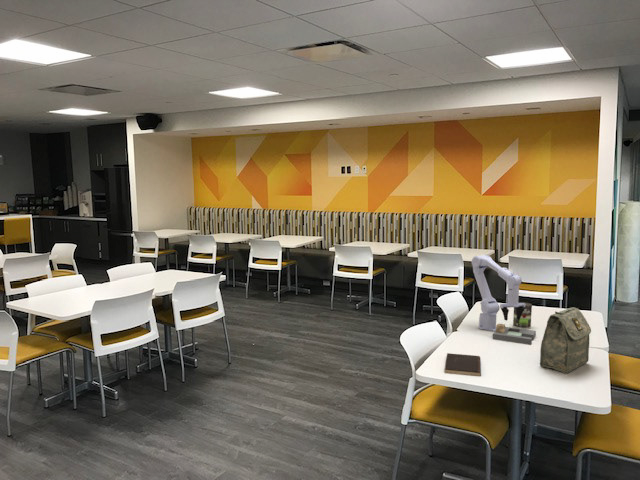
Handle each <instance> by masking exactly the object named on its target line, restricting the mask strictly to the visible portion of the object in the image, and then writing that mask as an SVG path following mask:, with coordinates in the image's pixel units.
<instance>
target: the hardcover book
mask: <svg viewBox="0 0 640 480" xmlns="http://www.w3.org/2000/svg"><path fill="white" fill-rule="evenodd" d="M481 366H482V363H481V356H479V355H473V354H472V355H471V354H461V353H460V354H459V353H448V352H447V353H446V358H445V367H444V370H445V373H447V374H448V373H449V374H457V375H468V376H479V377H482V367H481Z"/></svg>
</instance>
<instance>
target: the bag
mask: <svg viewBox="0 0 640 480" xmlns="http://www.w3.org/2000/svg"><path fill="white" fill-rule="evenodd" d="M546 322H547V323H546V327H545V329H544V332H543V337H542V339H541V343H540V352H539V353H540V357H539V359H540V360H539V365H540V366H539V367H541V368H548V369H549V368H550V369H553V370H555V371H558V372H562V373H563V374H566V375H567V374H568V373H570V372H572V371H573V370H575V369H577V368H579V367H581V366H583V365H584V364H588V362H589V354H590V353H589V351H590V334H591V332H592V328H591V326H590V324H589V323H588V321H587V319H586V318H585V316H584V314H583V312H582V311H581V310H580V309H579V308H576V307H574V306H573V307H569V308H566V309H565V308H564V309H563V310H560V311H556V310H555V311H554V313H553V314H551V315H550V316H548V319H547V321H546Z"/></svg>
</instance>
